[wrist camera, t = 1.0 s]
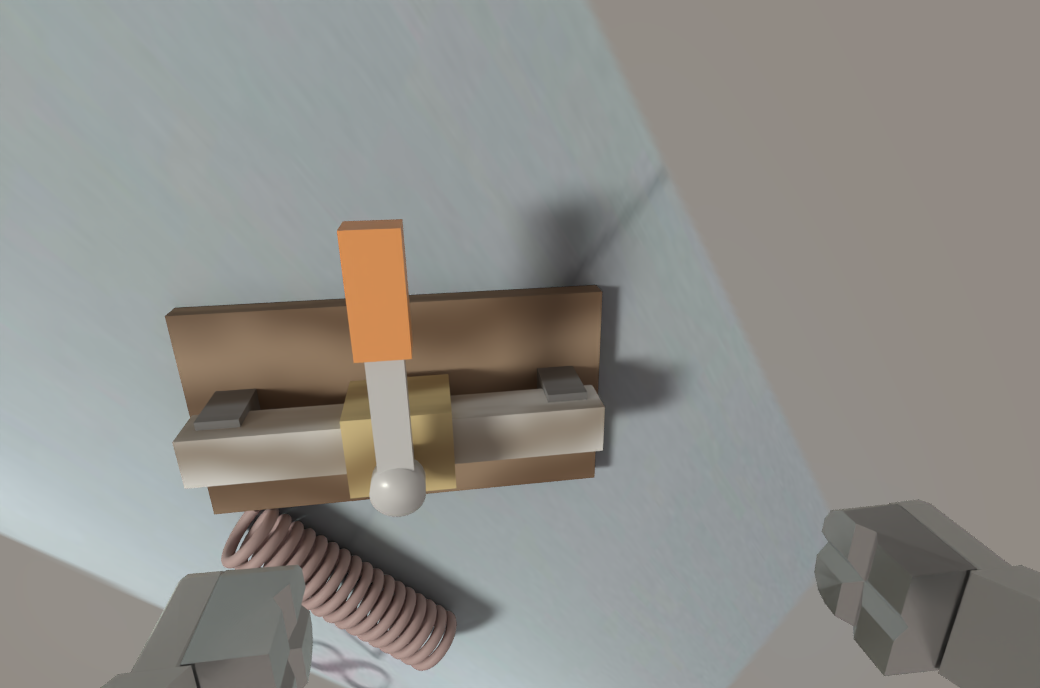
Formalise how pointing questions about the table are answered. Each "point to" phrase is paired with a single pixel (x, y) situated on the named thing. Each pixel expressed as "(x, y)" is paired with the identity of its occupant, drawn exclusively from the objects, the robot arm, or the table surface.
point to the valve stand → (345, 404)
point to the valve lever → (383, 355)
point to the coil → (345, 588)
